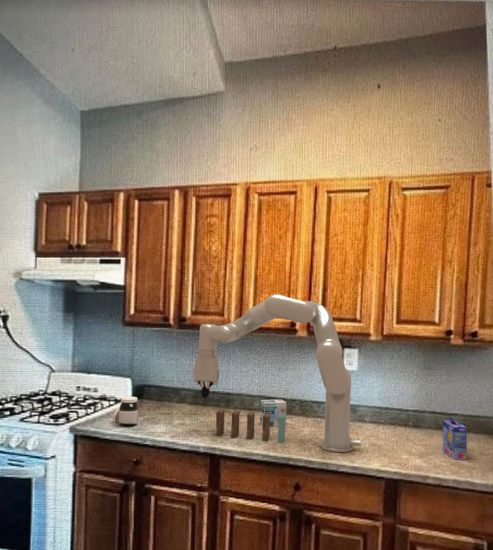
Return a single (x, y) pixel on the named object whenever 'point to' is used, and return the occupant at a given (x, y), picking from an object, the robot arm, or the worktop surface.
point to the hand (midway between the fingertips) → (205, 397)
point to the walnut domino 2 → (235, 424)
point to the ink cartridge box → (455, 439)
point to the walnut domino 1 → (220, 422)
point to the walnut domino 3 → (250, 425)
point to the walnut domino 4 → (266, 427)
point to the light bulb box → (273, 411)
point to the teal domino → (281, 428)
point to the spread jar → (127, 412)
